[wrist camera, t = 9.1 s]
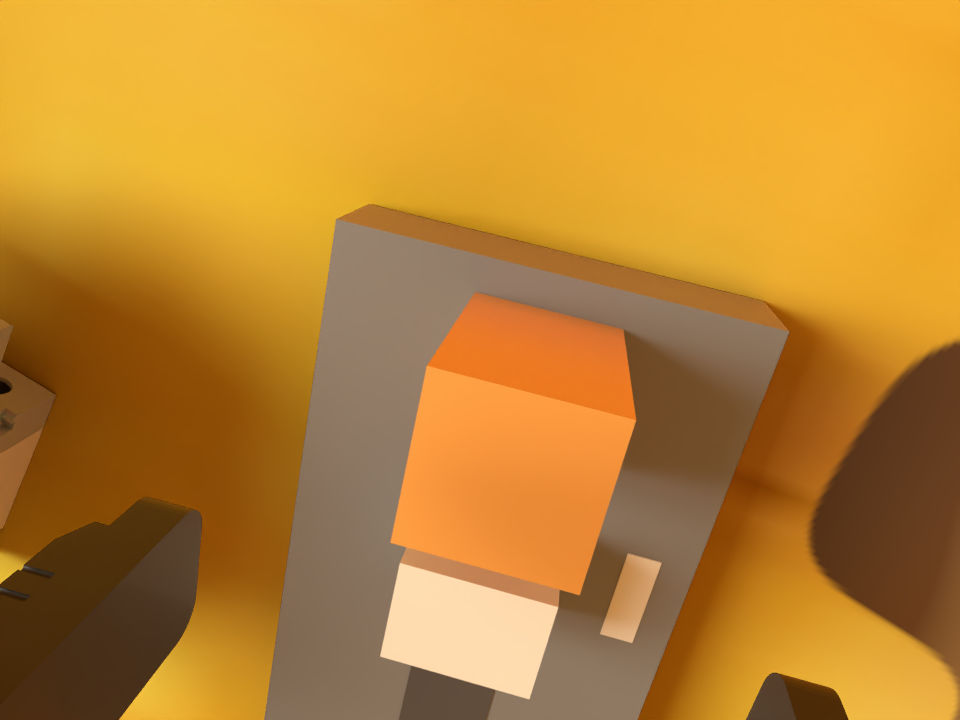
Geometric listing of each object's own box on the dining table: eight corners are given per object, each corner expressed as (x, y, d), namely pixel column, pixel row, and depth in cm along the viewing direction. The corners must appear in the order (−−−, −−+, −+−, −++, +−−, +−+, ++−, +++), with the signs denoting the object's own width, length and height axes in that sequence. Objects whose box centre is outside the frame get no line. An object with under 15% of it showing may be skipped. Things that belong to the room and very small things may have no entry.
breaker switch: (539, 610, 22) (529, 699, 19) (411, 574, 22) (380, 656, 19) (564, 528, 21) (558, 607, 18) (430, 491, 21) (400, 563, 18)
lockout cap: (582, 462, 20) (579, 595, 15) (445, 425, 21) (390, 542, 15) (623, 329, 19) (636, 420, 13) (475, 291, 19) (427, 365, 14)
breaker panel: (546, 885, 30) (539, 988, 27) (274, 802, 31) (233, 892, 28) (764, 301, 21) (797, 341, 18) (369, 204, 22) (326, 223, 18)
